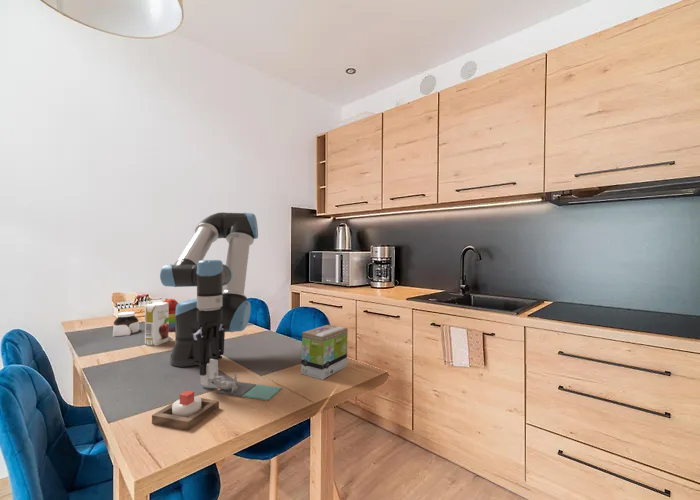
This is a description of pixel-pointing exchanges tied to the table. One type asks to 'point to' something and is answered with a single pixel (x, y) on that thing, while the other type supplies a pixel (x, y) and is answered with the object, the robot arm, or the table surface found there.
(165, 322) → the juice carton
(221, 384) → the soldier figure
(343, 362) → the tea box
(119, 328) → the spread jar
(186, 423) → the frame
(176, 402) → the white and red button
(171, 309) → the stacking bear
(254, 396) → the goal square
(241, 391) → the dark grey square tile
